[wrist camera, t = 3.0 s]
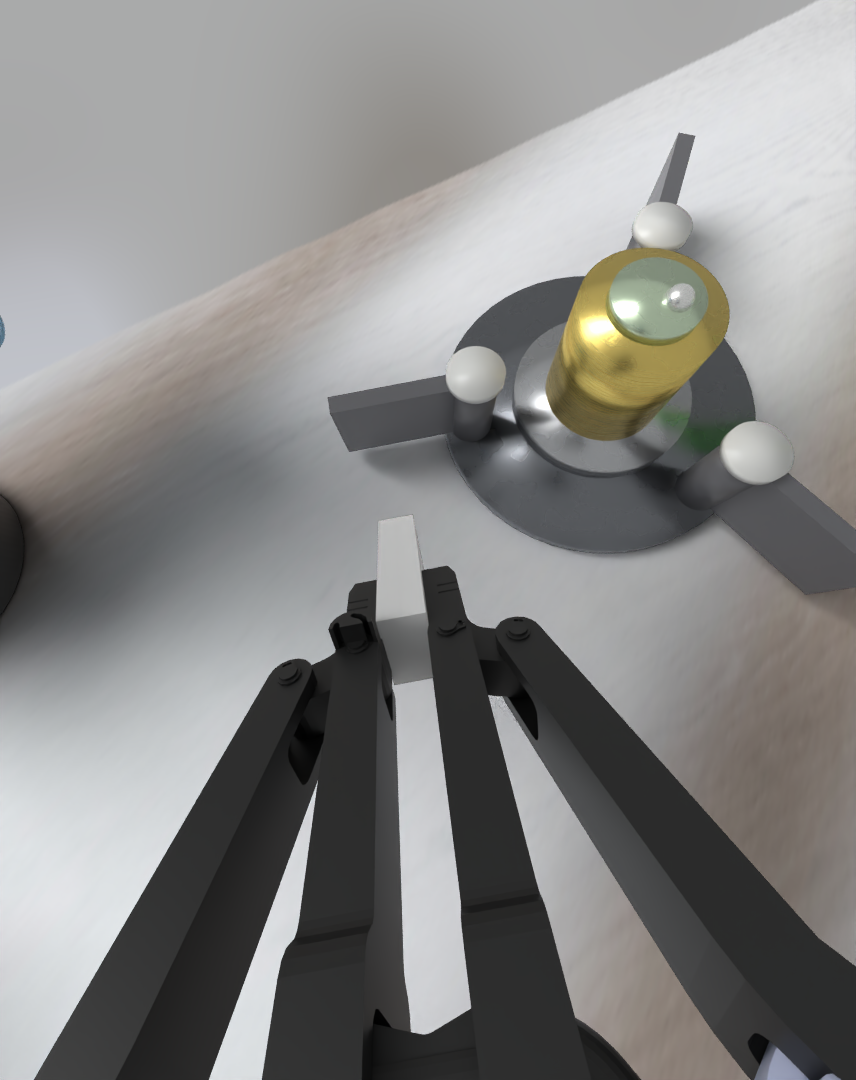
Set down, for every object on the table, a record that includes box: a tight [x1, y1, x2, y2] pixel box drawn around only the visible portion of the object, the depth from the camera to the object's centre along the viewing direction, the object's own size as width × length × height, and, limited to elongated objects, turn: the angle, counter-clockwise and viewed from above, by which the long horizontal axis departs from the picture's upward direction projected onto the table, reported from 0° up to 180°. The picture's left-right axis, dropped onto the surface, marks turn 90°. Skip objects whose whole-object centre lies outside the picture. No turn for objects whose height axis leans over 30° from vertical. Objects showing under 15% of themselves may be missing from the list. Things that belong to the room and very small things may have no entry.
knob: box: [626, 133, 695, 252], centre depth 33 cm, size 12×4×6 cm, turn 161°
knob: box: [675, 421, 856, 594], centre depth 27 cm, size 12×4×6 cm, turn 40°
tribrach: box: [445, 248, 755, 553], centre depth 28 cm, size 24×24×12 cm
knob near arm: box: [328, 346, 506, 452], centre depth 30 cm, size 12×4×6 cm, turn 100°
